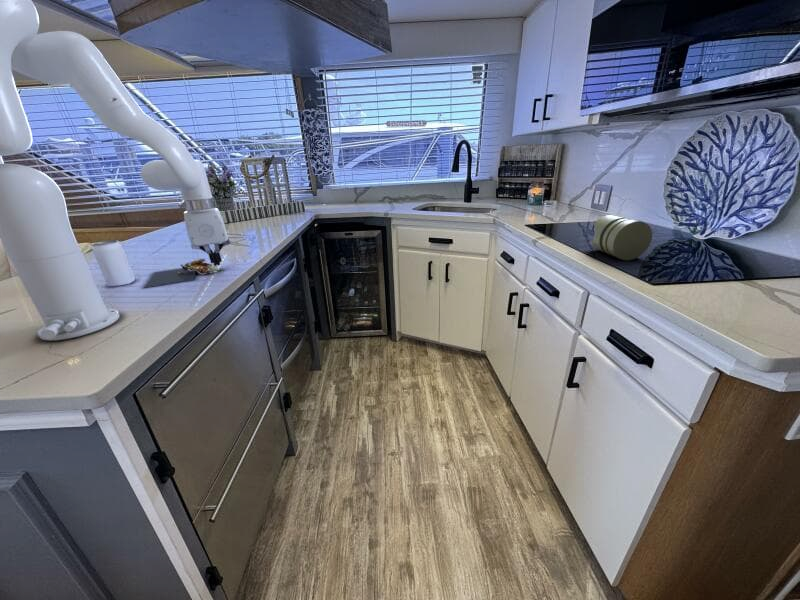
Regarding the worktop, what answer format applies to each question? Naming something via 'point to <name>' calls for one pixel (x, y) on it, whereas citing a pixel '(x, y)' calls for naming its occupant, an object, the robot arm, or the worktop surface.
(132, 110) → the robot arm
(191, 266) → the pastry
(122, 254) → the can
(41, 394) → the worktop surface
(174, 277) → the slate mat
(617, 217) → the piston
